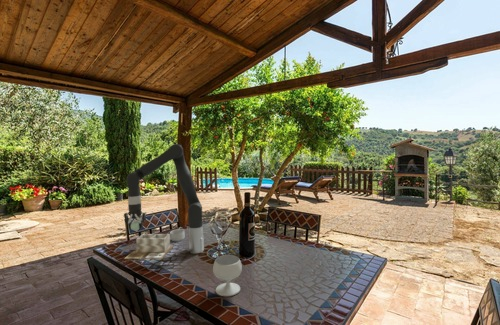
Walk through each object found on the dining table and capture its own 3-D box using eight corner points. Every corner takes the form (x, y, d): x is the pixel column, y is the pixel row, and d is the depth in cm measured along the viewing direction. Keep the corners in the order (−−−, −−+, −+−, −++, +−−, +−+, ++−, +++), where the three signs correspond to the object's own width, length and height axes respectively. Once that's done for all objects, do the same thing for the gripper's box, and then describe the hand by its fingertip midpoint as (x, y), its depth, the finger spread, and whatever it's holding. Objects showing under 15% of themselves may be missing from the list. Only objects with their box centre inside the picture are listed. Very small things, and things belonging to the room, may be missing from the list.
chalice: (207, 290, 121) (207, 260, 121) (229, 279, 131) (229, 251, 130) (225, 302, 111) (225, 269, 111) (248, 289, 121) (247, 259, 120)
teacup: (182, 243, 187) (182, 233, 186) (168, 243, 187) (167, 233, 187) (187, 237, 201) (187, 227, 200) (174, 237, 201) (173, 227, 201)
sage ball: (142, 228, 164) (142, 219, 164) (138, 231, 158) (137, 222, 158) (133, 229, 164) (133, 220, 164) (128, 231, 158) (128, 222, 158)
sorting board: (174, 247, 179) (174, 233, 178) (162, 261, 156) (161, 244, 155) (140, 247, 180) (140, 233, 179) (123, 261, 157) (122, 245, 156)
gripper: (148, 201, 164) (149, 226, 164) (126, 202, 164) (127, 227, 165) (142, 203, 156) (144, 230, 157) (120, 204, 157) (121, 230, 157)
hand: (135, 228), depth 161 cm, fingers closed on sage ball, 6 cm apart
